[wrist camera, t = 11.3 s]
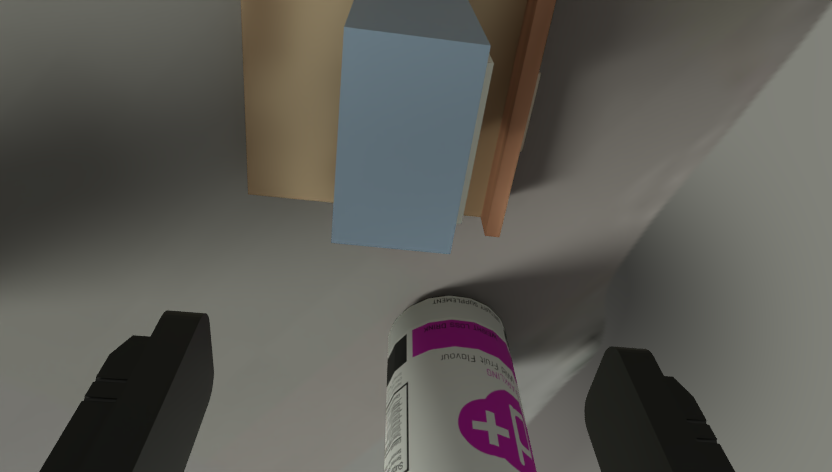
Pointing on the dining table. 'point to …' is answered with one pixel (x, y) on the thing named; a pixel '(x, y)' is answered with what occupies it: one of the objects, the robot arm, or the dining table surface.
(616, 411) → the robot arm
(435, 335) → the supplement can
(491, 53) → the wooden plank
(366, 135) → the carton
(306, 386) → the dining table surface
